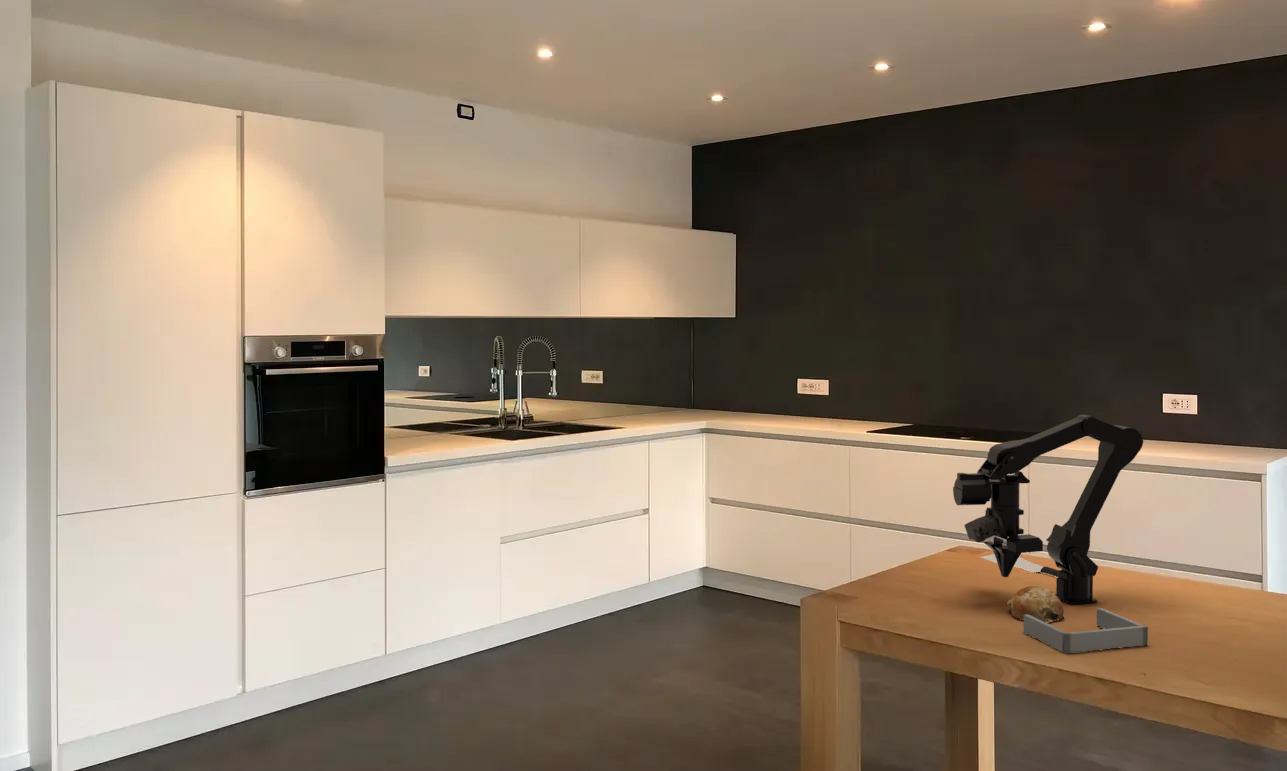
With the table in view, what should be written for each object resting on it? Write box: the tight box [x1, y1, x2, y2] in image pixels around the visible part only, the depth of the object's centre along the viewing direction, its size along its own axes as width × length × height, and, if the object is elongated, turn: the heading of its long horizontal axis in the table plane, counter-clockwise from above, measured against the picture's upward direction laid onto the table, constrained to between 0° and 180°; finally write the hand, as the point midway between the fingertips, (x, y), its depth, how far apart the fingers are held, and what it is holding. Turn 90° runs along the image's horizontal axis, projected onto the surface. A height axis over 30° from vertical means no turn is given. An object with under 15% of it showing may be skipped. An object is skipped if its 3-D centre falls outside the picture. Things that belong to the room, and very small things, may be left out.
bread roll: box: [1007, 585, 1064, 623], centre depth 206 cm, size 10×10×8 cm
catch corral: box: [1022, 607, 1149, 655], centre depth 192 cm, size 17×13×4 cm
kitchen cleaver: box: [979, 553, 1060, 577], centre depth 244 cm, size 31×2×10 cm
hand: (1004, 576), depth 217 cm, fingers closed
